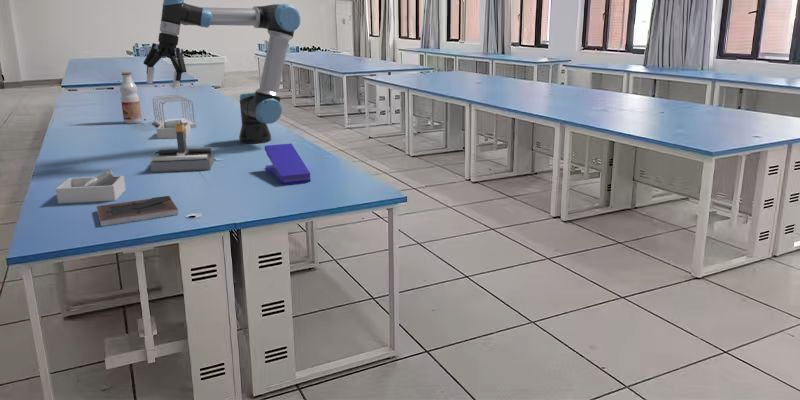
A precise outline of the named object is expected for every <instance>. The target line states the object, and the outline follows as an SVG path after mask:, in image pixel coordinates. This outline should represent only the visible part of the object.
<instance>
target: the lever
mask: <svg viewBox="0 0 800 400" xmlns="http://www.w3.org/2000/svg"><path fill="white" fill-rule="evenodd" d="M175 129H176V135H177V138H176V142H177V149H178V152H182V153H185V154H186V149H187V148H188V147H187V142H186V141H187V140H186V139H187V138H185V127H184V123H183V124H177V125H176V126H175Z"/></svg>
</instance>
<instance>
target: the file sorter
mask: <svg viewBox="0 0 800 400" xmlns="http://www.w3.org/2000/svg"><path fill="white" fill-rule="evenodd" d="M170 102H181V110H182V112H181V113H182V117H181V118H168V119H165V112H164V104H165V103H170ZM161 103H162V104H161ZM190 103H191V104H190ZM152 108H153V115H154V120H153V124H154V125H156V126H157V127H159V126H160V125H161V124H163V123H165V122H167V121H174V120H181V122H182V123H189V122H190V127H191V128H196V127H197V122H196V123H195V121H196V120H195V113H194V112H195V111H194V104H193V101H192V100H190V99H188V98H187V97H185V96H182V95H180V94H165V95H164V94H163V95H155V96H153V97H152ZM191 109H192V113H191ZM192 119H193V121H192Z"/></svg>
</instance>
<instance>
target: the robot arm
mask: <svg viewBox="0 0 800 400" xmlns="http://www.w3.org/2000/svg"><path fill="white" fill-rule="evenodd" d="M162 2H163V3H162V10H161V19H160V25H159V26H160V27H159V33H158V42H159V43H155V42H153V43H152V44H151V48H150V50H149V51H148V53H147V54H146V57H145V59H144V61H143V65H145V66H146V82H145V83H147V84H153V81H154V77H155V76H154V73H155V67H154V66H155V65H156V64H157V63H158V62H159V61H160V60H161V59H162V58H169V59H170V61H171V63H172V66H173V68H174V70H175V72H174V73H173V79H172V85H171V86H172V89H175V90H179V86H180V81H181V79H182V75H183V73H184V74H185V73H187V67H186V64H185V58H184V55H183V52H184V51H183V48H181V47H177V46H178V44H179V36H180V31H181V25H183V26H197V27H200V28H209V27H210V26H248V27H249V26H253V28H254V29H263V30H264V29H265V30H267V31H266V32H267V33H268V36H269V38H268V45H267V49H266V54H265V57H264V58H265V59H264V65H263V69H262V73H261V80H260V84H259V88H258V89H255V92H249V93H241V94H240V95H239V105H240V106H239V107H240V117H241V118H240V119H241V128H240V132H239V136H238V139H239V142H240V143H243V144H260V143H261V144H262V143H267V142H269V141H272V134H271V132H270V128H269V126H268V124H269V125H270V124H274V123H276V122H277V121H279V119H280V118H281V117H282V113H283V107H282V105H281V103H280V102H281V97H282V96H281V95H280V93H279V91H280V86H281V85H280V84H281V81H282V75H283V72H284V71H283V70H284V65H285V60H286V56H287V52H288V45H289V43H290V42H289V41H291V40H292V39H293V38H294V33H295V31H296V30H297V29H298V28H299V27H300V24H301V14H300V12H299V10H298V9H297V8H296V7H295V6H293V5H292V4H288V3H281V4H278V3H277V4H269V5H261V6H259V5H258V6H255V5H254V6H253V7H252V8H251V7H250V8H246V7H245V8H244V7H242V8H240V7H238V8H237V7H200V6H196V5H192V4H188V3H185V1H184V0H163V1H162Z"/></svg>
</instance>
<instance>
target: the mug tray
mask: <svg viewBox="0 0 800 400" xmlns="http://www.w3.org/2000/svg"><path fill="white" fill-rule="evenodd" d="M182 124H183V123H182ZM184 127H185V138H186V139H187V138H188V137H189V136H190V134H191V133H192V129H191V128H192V127H190V122H189V123H184ZM156 135H157V140H160V139H161V140H162V139H164V140H165V139H177V135H176V129H175V128H164V123H163V124H161V125H160V126H157V128H156Z"/></svg>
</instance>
